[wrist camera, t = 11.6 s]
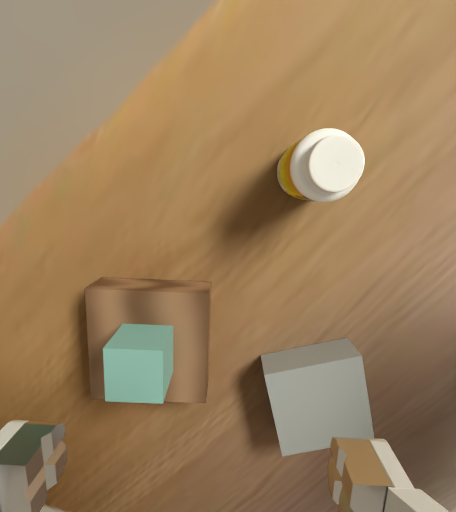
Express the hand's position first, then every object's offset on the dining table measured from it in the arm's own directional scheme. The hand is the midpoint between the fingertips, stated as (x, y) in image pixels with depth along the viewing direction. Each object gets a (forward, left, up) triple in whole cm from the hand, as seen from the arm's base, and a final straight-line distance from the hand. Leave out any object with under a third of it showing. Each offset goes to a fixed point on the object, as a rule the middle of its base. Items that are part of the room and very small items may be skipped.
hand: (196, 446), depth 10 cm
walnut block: (+7, +8, -25) cm, 27 cm away
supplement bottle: (-8, -10, -25) cm, 28 cm away
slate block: (-11, +14, -25) cm, 31 cm away
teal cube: (+7, +8, -21) cm, 24 cm away
